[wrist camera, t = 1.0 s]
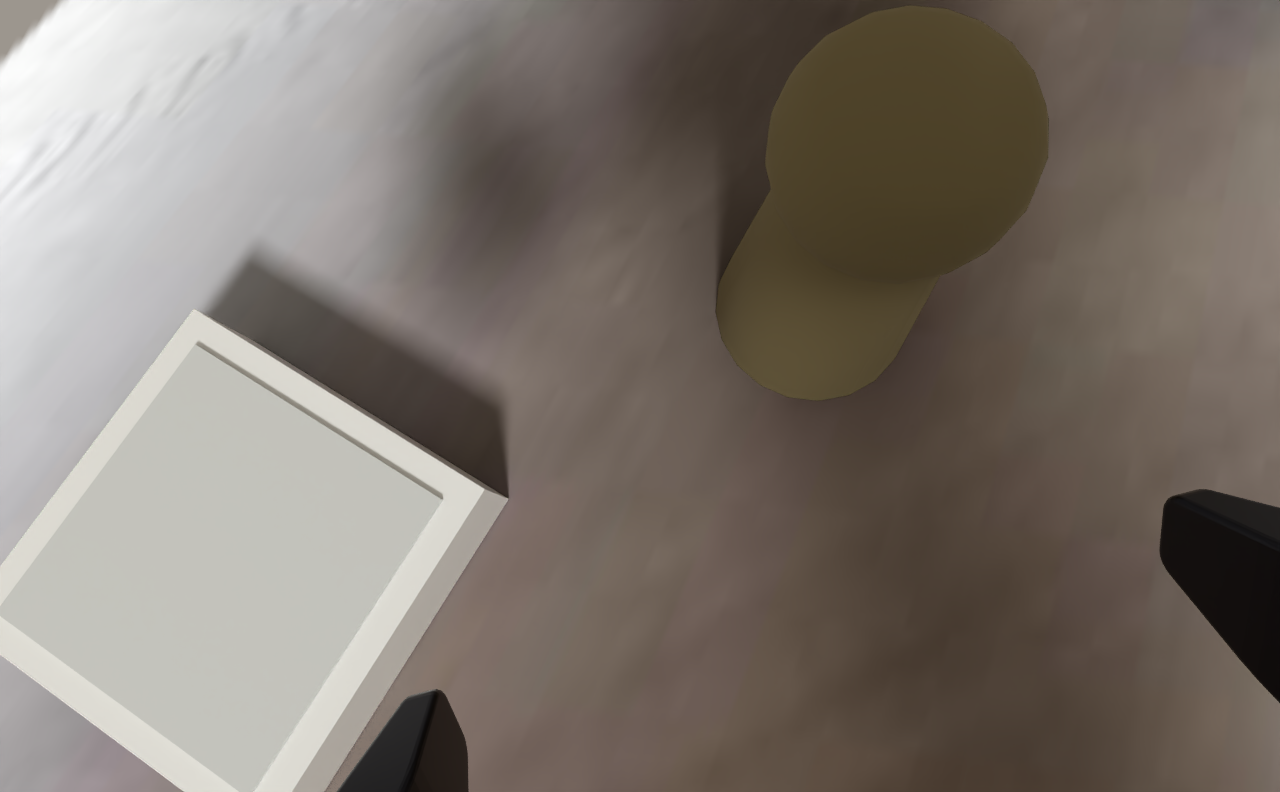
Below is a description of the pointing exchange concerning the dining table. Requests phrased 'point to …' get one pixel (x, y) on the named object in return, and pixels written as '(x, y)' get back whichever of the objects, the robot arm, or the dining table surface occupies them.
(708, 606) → the dining table surface
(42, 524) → the tray
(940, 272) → the cork
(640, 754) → the dining table surface
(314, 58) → the dining table surface
